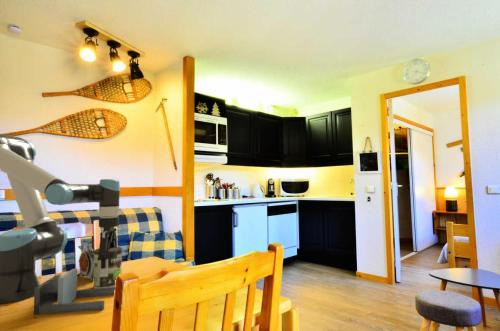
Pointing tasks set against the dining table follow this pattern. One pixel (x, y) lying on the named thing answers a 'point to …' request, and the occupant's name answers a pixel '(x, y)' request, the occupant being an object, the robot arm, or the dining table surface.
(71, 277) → the pusher plate
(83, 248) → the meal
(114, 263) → the coffee can
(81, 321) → the dining table surface
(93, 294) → the lane
